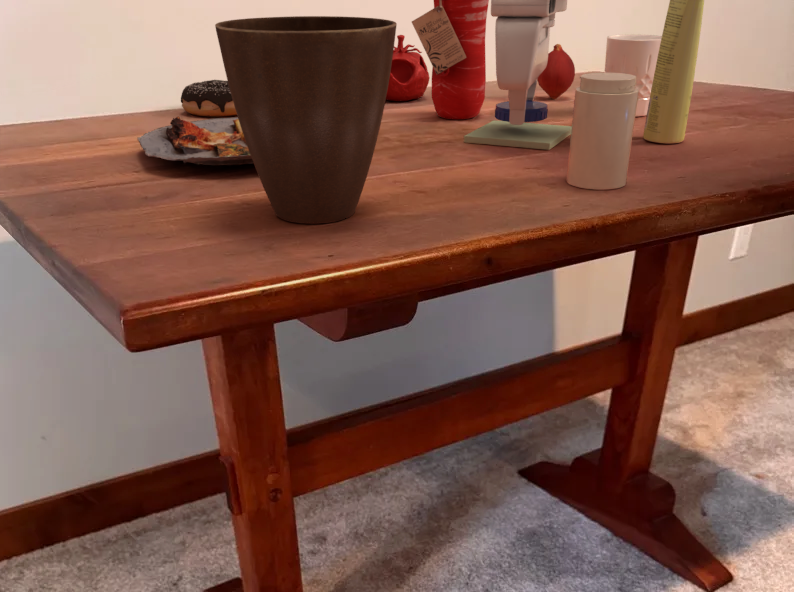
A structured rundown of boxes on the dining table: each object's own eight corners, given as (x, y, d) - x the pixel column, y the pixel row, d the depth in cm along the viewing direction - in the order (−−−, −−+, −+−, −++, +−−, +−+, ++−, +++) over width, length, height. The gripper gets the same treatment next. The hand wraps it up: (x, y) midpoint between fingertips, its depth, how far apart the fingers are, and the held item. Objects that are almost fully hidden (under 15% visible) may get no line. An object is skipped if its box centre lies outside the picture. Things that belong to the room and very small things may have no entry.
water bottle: (444, 127, 107) (449, -91, 95) (401, 120, 112) (401, -89, 100) (499, 115, 115) (511, -89, 102) (457, 108, 120) (463, -87, 107)
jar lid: (487, 120, 99) (488, 108, 98) (504, 111, 104) (505, 99, 103) (538, 124, 97) (539, 111, 96) (553, 114, 102) (554, 102, 101)
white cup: (666, 114, 114) (678, 37, 109) (625, 120, 111) (636, 41, 106) (627, 106, 120) (636, 33, 115) (587, 111, 117) (595, 36, 112)
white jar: (631, 178, 83) (646, 73, 78) (619, 192, 79) (633, 82, 74) (574, 172, 86) (585, 70, 81) (559, 186, 81) (569, 78, 76)
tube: (696, 140, 99) (728, -40, 89) (676, 147, 96) (707, -39, 86) (654, 134, 102) (680, -41, 92) (634, 140, 99) (659, -40, 89)
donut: (171, 117, 116) (167, 88, 114) (202, 103, 126) (199, 76, 124) (244, 119, 114) (241, 89, 112) (269, 105, 125) (267, 77, 123)
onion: (539, 95, 130) (543, 41, 126) (575, 96, 128) (580, 42, 124) (531, 100, 125) (535, 45, 121) (568, 102, 123) (574, 46, 119)
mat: (573, 132, 104) (573, 126, 103) (549, 150, 95) (550, 143, 95) (493, 126, 108) (493, 120, 108) (463, 142, 99) (463, 135, 99)
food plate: (132, 140, 103) (127, 112, 101) (306, 126, 110) (305, 99, 108) (156, 187, 82) (150, 152, 81) (368, 165, 89) (367, 133, 88)
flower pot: (354, 184, 83) (348, 12, 75) (427, 221, 71) (430, 23, 63) (214, 204, 77) (192, 20, 69) (270, 248, 65) (251, 34, 57)
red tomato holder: (354, 98, 129) (352, 35, 124) (400, 91, 134) (400, 30, 130) (396, 106, 122) (396, 39, 117) (442, 98, 128) (443, 34, 123)
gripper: (515, -10, 103) (508, 103, 110) (488, -1, 86) (482, 133, 93) (564, -10, 101) (555, 104, 108) (547, -1, 84) (537, 135, 91)
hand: (521, 118), depth 100 cm, fingers closed on jar lid, 6 cm apart
